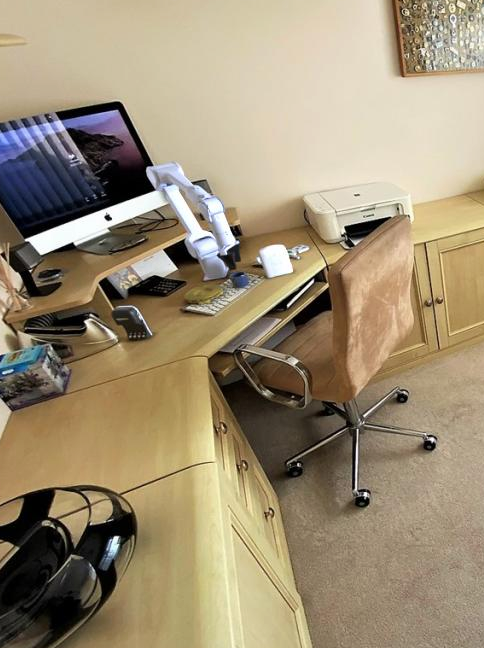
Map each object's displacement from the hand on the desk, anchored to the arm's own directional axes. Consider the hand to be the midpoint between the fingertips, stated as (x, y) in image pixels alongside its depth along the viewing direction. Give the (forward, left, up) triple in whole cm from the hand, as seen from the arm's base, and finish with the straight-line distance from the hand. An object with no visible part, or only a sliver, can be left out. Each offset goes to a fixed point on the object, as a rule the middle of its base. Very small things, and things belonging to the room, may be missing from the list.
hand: (235, 265), depth 162 cm
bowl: (-1, -1, -9) cm, 9 cm away
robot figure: (-24, +14, -9) cm, 29 cm away
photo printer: (-5, +13, -9) cm, 17 cm away
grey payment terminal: (+27, -28, -9) cm, 40 cm away
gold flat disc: (+4, -13, -9) cm, 16 cm away
